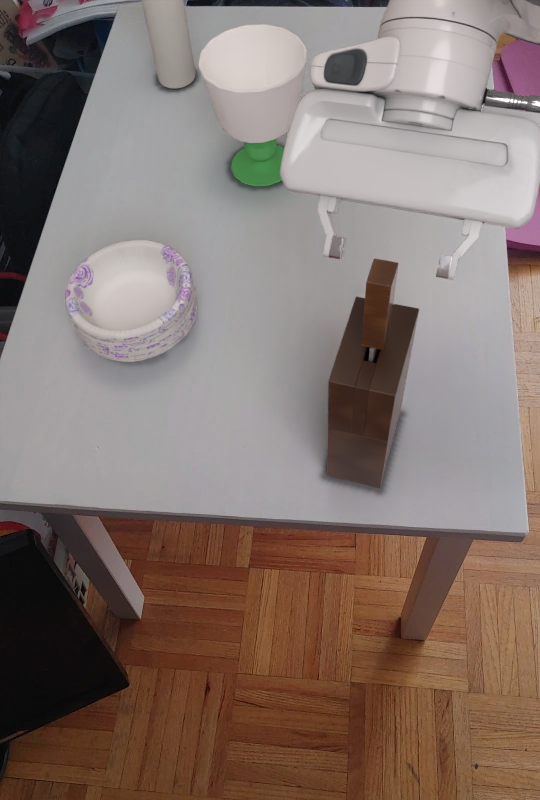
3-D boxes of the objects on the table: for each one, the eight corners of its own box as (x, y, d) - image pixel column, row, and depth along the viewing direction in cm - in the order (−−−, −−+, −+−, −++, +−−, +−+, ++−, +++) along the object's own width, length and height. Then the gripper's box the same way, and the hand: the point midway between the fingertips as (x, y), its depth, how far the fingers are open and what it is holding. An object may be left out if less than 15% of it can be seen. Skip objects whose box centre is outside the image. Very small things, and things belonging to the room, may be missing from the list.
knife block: (326, 475, 77) (328, 381, 61) (349, 402, 82) (355, 296, 66) (380, 488, 76) (395, 396, 60) (400, 413, 80) (419, 308, 64)
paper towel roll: (187, 92, 110) (159, -64, 91) (152, 86, 111) (117, -68, 92) (204, 64, 113) (180, -92, 94) (170, 59, 114) (139, -97, 95)
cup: (203, 192, 99) (184, 86, 85) (229, 129, 105) (214, 19, 91) (298, 203, 97) (293, 96, 83) (318, 138, 103) (317, 27, 89)
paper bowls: (71, 305, 91) (50, 260, 84) (181, 268, 93) (170, 222, 86) (99, 394, 84) (79, 354, 77) (218, 353, 86) (209, 310, 79)
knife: (356, 404, 70) (365, 283, 54) (363, 379, 71) (374, 256, 56) (375, 408, 69) (390, 288, 54) (382, 384, 70) (399, 260, 55)
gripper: (563, 108, 54) (513, 290, 59) (309, 75, 58) (281, 247, 63) (575, 89, 48) (518, 293, 53) (292, 54, 52) (262, 246, 57)
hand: (387, 268), depth 58 cm, fingers open, 8 cm apart
